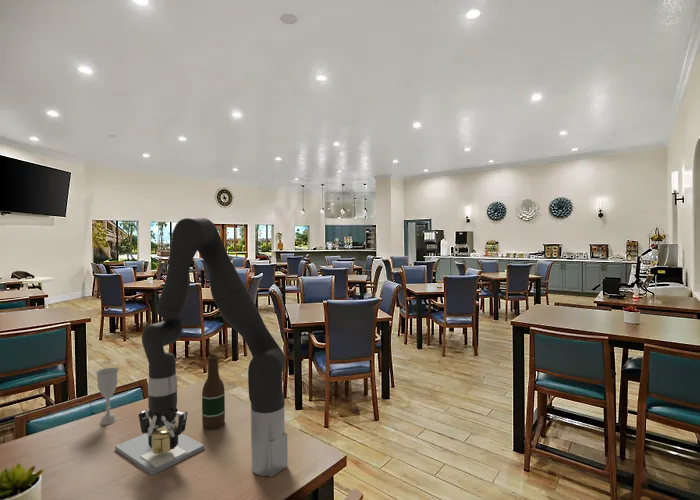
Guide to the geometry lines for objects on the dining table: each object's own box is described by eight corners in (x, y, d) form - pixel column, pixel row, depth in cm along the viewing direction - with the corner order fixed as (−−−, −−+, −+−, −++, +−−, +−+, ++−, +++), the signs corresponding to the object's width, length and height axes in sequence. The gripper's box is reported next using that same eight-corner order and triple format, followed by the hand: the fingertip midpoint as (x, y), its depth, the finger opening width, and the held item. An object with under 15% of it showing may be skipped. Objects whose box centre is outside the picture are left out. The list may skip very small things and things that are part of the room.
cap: (166, 455, 107) (165, 438, 107) (146, 454, 107) (146, 437, 107) (178, 442, 114) (178, 425, 114) (160, 441, 114) (160, 425, 114)
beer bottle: (229, 419, 135) (228, 353, 134) (219, 430, 127) (218, 360, 126) (208, 419, 136) (207, 352, 135) (197, 429, 128) (196, 359, 127)
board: (204, 448, 116) (204, 419, 116) (152, 475, 103) (151, 442, 103) (166, 428, 129) (165, 401, 128) (115, 449, 116) (114, 420, 115)
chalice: (123, 420, 135) (122, 370, 135) (102, 428, 129) (101, 375, 129) (113, 415, 139) (112, 366, 138) (92, 422, 133) (91, 371, 133)
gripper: (130, 394, 107) (131, 453, 108) (179, 396, 106) (180, 455, 106) (147, 384, 115) (148, 439, 115) (192, 386, 113) (193, 441, 114)
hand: (163, 447), depth 111 cm, fingers closed on cap, 5 cm apart
